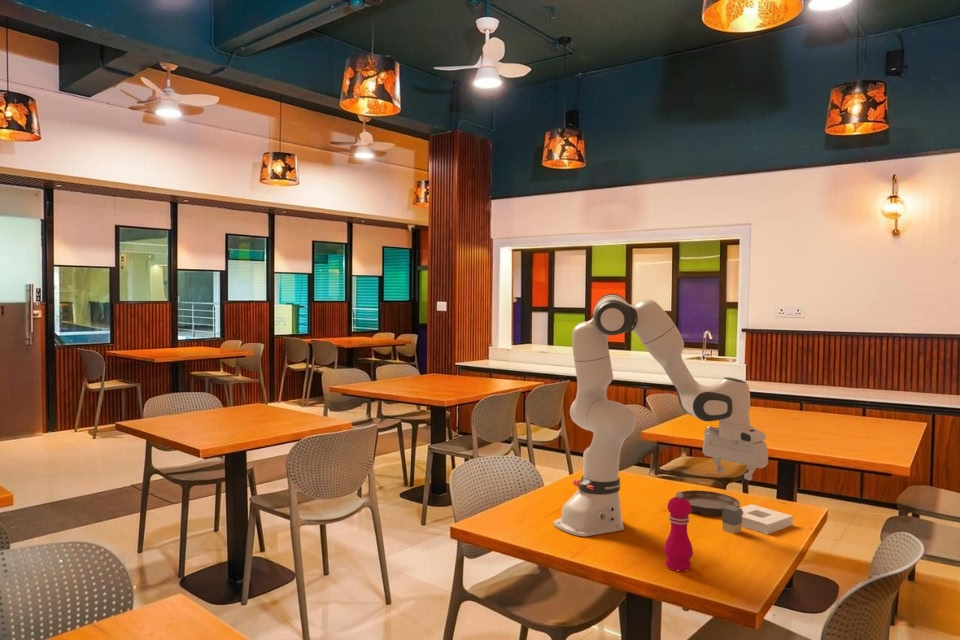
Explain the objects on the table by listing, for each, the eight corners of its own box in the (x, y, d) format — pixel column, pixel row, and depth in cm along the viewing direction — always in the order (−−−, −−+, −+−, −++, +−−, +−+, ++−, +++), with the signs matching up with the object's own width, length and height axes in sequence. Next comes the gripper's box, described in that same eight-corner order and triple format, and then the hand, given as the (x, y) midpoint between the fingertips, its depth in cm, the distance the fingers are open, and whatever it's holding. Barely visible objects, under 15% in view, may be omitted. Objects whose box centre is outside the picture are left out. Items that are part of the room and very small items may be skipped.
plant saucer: (701, 495, 234) (702, 486, 234) (752, 511, 217) (753, 501, 217) (662, 504, 223) (662, 495, 223) (712, 522, 206) (713, 512, 206)
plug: (733, 534, 195) (734, 511, 195) (722, 530, 198) (722, 507, 198) (741, 531, 197) (742, 508, 197) (729, 527, 201) (730, 505, 200)
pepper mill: (686, 561, 174) (688, 487, 173) (696, 572, 167) (698, 495, 166) (660, 561, 174) (661, 487, 173) (669, 572, 167) (670, 495, 166)
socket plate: (767, 534, 195) (767, 522, 195) (726, 521, 206) (726, 509, 206) (792, 525, 203) (792, 513, 203) (751, 513, 214) (751, 501, 214)
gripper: (698, 426, 203) (698, 470, 204) (759, 438, 187) (758, 485, 187) (710, 424, 207) (710, 467, 207) (771, 435, 190) (770, 482, 191)
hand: (733, 476), depth 197 cm, fingers open, 8 cm apart
